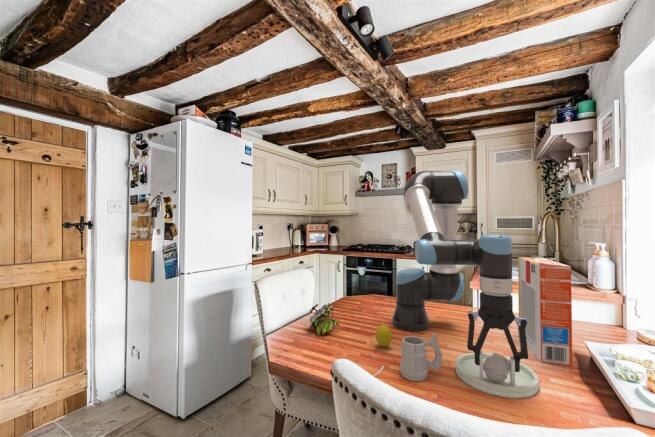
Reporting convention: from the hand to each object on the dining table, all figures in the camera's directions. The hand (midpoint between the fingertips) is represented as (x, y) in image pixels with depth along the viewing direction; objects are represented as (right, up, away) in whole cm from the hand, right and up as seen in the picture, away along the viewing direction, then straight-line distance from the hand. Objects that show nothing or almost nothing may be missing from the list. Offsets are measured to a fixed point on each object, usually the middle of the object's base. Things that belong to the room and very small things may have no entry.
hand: (496, 380), depth 78 cm
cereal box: (+29, -2, +23) cm, 37 cm away
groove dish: (+2, -2, +5) cm, 5 cm away
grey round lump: (0, 0, 0) cm, 1 cm away
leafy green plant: (-46, -3, +41) cm, 62 cm away
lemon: (-25, -2, +25) cm, 35 cm away
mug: (-18, -2, +6) cm, 19 cm away
